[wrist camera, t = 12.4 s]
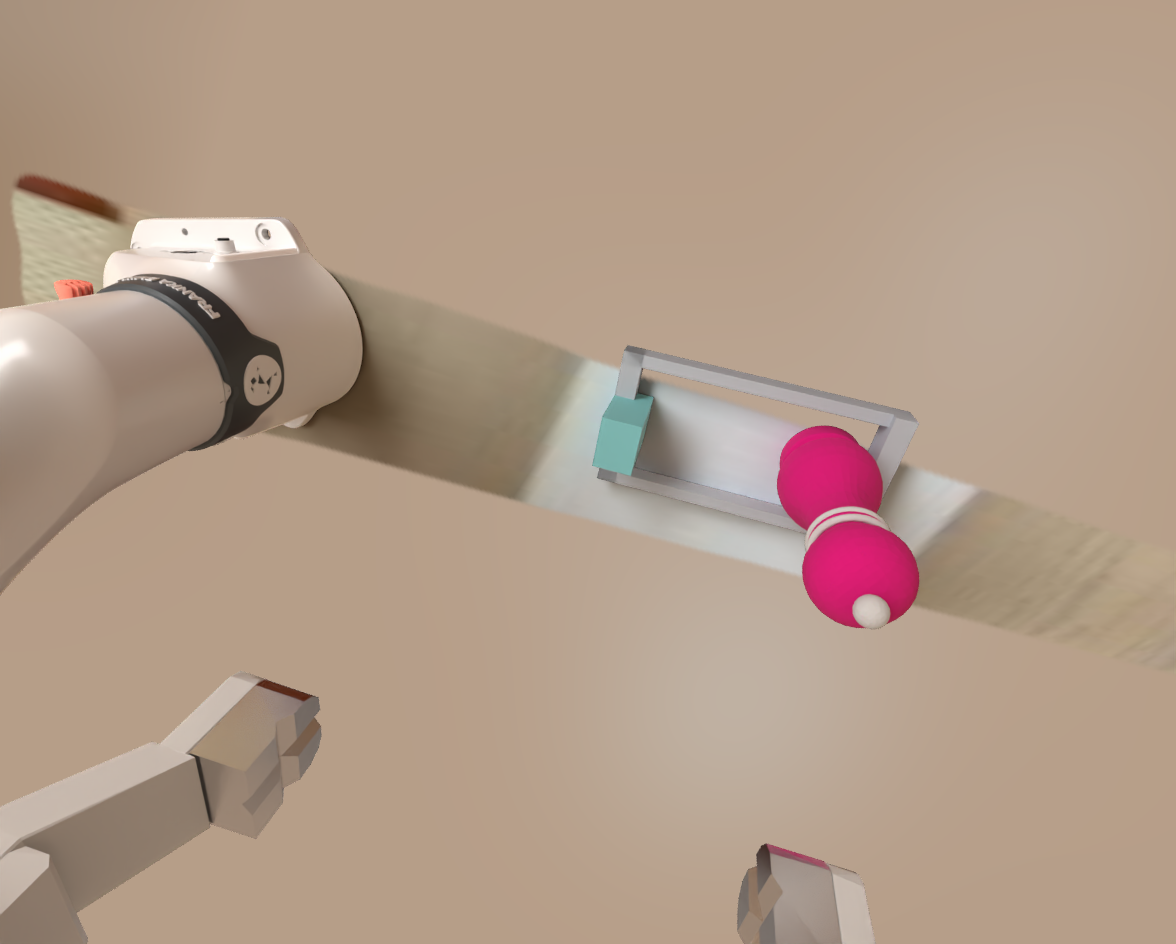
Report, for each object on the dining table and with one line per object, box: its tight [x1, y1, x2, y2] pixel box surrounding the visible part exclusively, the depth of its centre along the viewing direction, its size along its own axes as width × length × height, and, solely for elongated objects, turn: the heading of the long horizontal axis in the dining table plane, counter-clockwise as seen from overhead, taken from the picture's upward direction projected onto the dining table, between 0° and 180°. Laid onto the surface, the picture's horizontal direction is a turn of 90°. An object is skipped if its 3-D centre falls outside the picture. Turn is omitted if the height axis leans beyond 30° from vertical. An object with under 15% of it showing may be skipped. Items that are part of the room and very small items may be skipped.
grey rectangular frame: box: [592, 345, 919, 533], centre depth 44 cm, size 22×11×7 cm, turn 80°
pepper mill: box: [777, 426, 919, 629], centre depth 38 cm, size 7×7×20 cm
